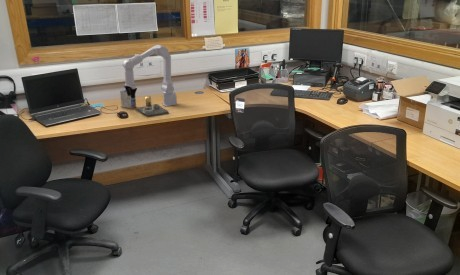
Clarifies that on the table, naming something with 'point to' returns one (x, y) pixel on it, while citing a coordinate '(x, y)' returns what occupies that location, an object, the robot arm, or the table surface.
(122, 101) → the ink cartridge box
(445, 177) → the table surface
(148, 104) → the brass cylinder
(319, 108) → the table surface
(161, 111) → the fitting board
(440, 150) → the table surface
